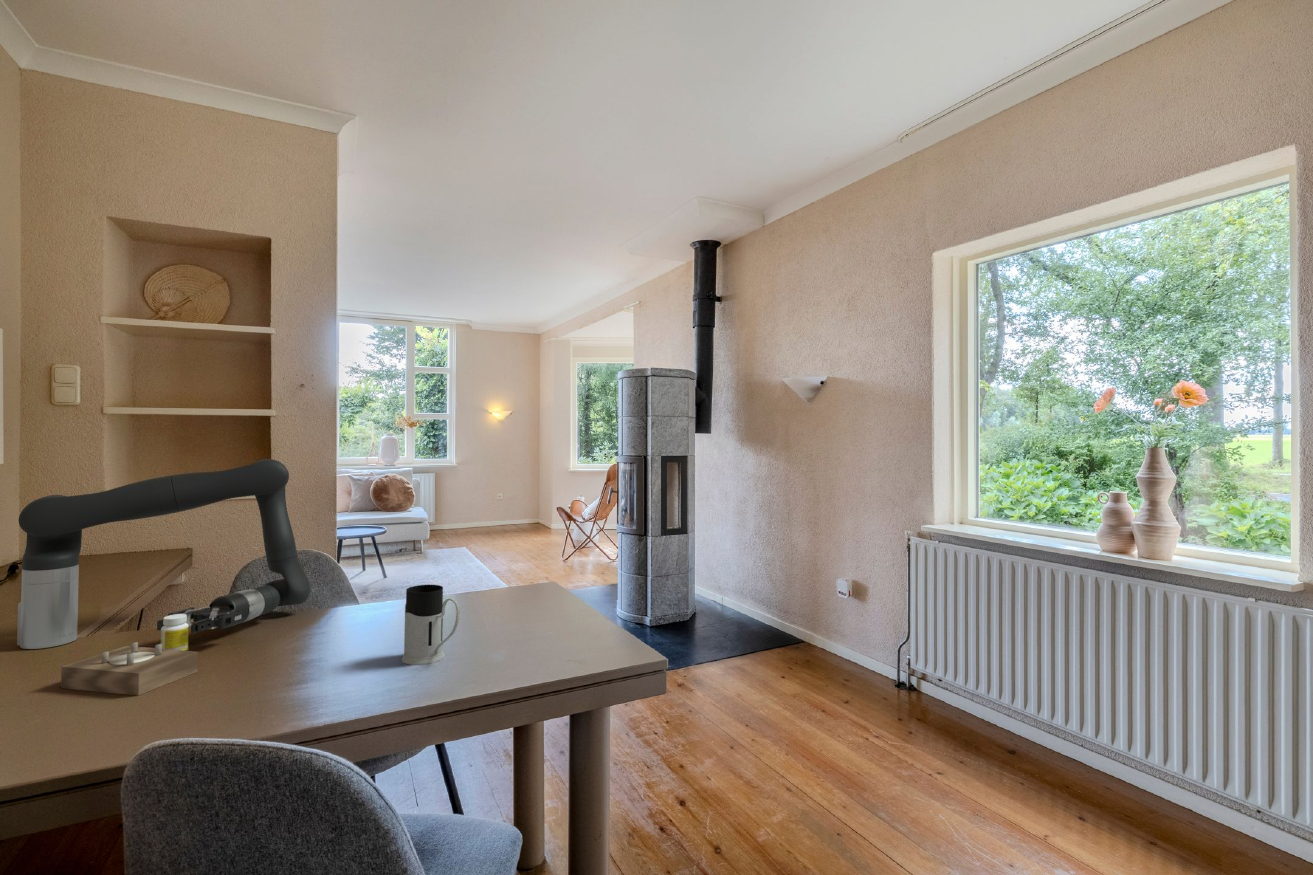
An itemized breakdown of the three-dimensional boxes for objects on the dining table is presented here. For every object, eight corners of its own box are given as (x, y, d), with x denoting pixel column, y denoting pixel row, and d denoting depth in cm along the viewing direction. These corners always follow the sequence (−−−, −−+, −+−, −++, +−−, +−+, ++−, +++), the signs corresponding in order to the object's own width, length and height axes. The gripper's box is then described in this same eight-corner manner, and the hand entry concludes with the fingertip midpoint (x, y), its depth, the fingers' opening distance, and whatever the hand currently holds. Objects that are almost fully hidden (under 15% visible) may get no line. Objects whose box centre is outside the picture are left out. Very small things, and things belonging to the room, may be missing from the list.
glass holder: (424, 648, 141) (425, 582, 141) (472, 658, 134) (473, 589, 134) (392, 660, 133) (393, 590, 133) (442, 672, 126) (443, 598, 127)
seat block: (61, 687, 115) (61, 655, 116) (125, 665, 127) (126, 636, 127) (138, 695, 113) (139, 662, 113) (197, 671, 125) (198, 641, 125)
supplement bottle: (193, 653, 135) (194, 614, 135) (170, 660, 131) (171, 620, 131) (178, 650, 137) (179, 612, 137) (154, 657, 132) (155, 617, 132)
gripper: (212, 590, 151) (147, 607, 135) (263, 593, 149) (204, 611, 133) (211, 621, 151) (146, 642, 135) (263, 625, 149) (203, 646, 133)
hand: (175, 627), depth 134 cm, fingers open, 8 cm apart
